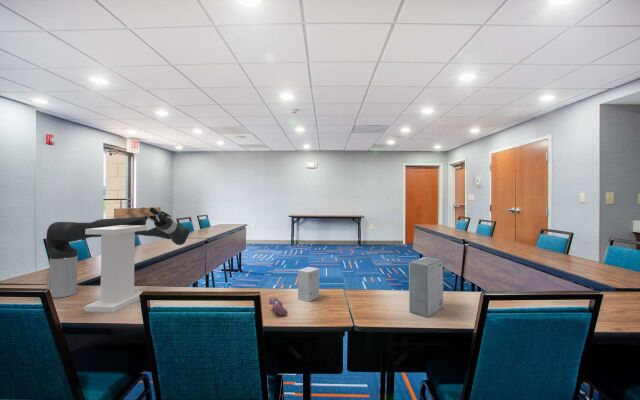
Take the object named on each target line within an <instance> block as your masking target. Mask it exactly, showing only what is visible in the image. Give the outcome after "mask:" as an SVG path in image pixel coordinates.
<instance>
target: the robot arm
mask: <svg viewBox="0 0 640 400" xmlns="http://www.w3.org/2000/svg"><path fill="white" fill-rule="evenodd" d="M153 207H154V206H151V208H150V212H151V213H153V214H155V216H145V217H133V218H114V217H113V218H101V219H97V220H95V221H91V222H78V221H77V222H76V221H75V222H74V221H57V222H53V223H51V224H50V225H48V228H47V230H46V250H47V253H48V254H49V274H48V275H47V276H46V290H47V289H50V290H51V294H52V296H53V298H52V299H59V298H66V297H70V296H73V295H76V294H77V293H78V255H79V254H78V253H79V252H78V250H77V249H76V248H74V247H73V246H71V245H70V243H74V242H78V241H81V240H84V239H85V240H86V239H88V238H101V235H97V234H85V229H91V228H101V227H110V226H119V225H147V220H150V221H152V222H153V223H154V226H155V227H153V228H150V229H147V230H143V231H137V232H135V236H144V237H155V238H161V239H164V240H165V239H166V240H171V242H173V244H175V245H177V246H182V245H184V244H185V243H186V242H187V239H188V238H189V235H190V233H191V231H190V229H189V228H188V227H185V226H180V225H179V224H178V223H176V222H175V220H173V219H172V218H171V217H172V215H170V214H168V213H167V212H165V211H162V210H160V212H159V211H157V210H156V209H154V208H153ZM141 208H145V207H144V206H141Z"/></svg>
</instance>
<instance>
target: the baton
mask: <svg viewBox="0 0 640 400" xmlns="http://www.w3.org/2000/svg"><path fill="white" fill-rule="evenodd" d="M151 207H153V208H154V209H156V210H157V211H159V212H161V206H160V207H159V206H157V207H154V206H151ZM151 207H148V206H147V207H144V208H142V207H127V208H126V207H125V208H124V207H123V208H113V218H133V217H145V216H155V214H153V213H151V212H150V208H151Z"/></svg>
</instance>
